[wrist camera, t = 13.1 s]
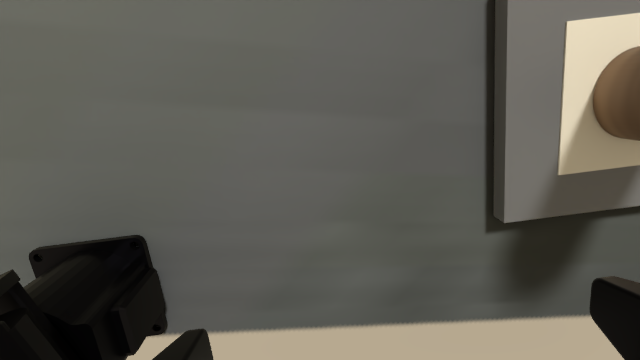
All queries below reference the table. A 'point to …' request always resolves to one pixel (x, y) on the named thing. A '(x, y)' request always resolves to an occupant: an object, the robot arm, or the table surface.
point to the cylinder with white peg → (620, 96)
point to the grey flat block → (559, 109)
